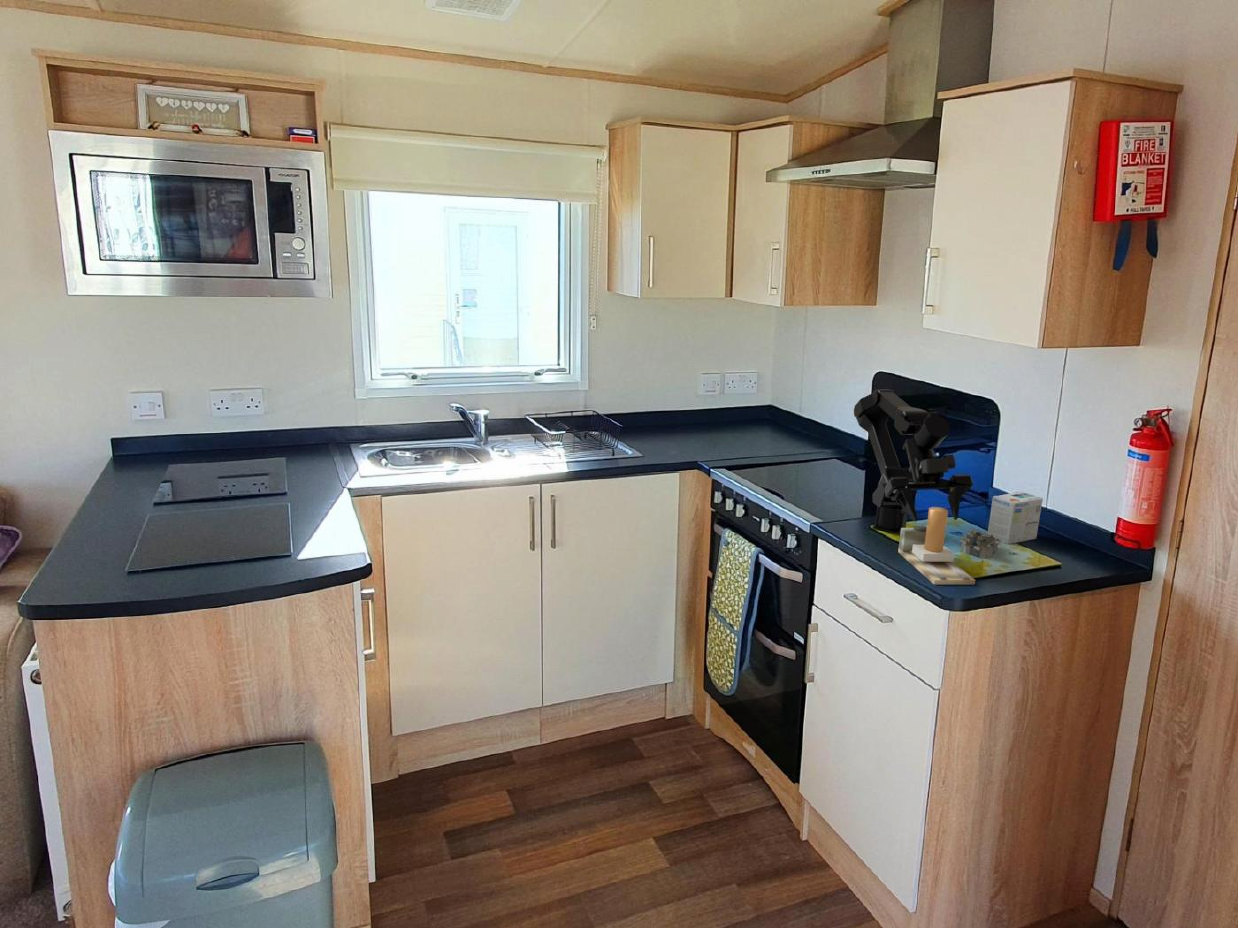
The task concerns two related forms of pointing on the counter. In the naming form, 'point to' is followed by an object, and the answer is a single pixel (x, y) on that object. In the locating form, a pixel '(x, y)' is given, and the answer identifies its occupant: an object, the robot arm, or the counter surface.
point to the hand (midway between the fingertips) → (936, 519)
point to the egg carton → (979, 544)
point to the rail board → (930, 570)
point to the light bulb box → (1015, 517)
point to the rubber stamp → (934, 538)
